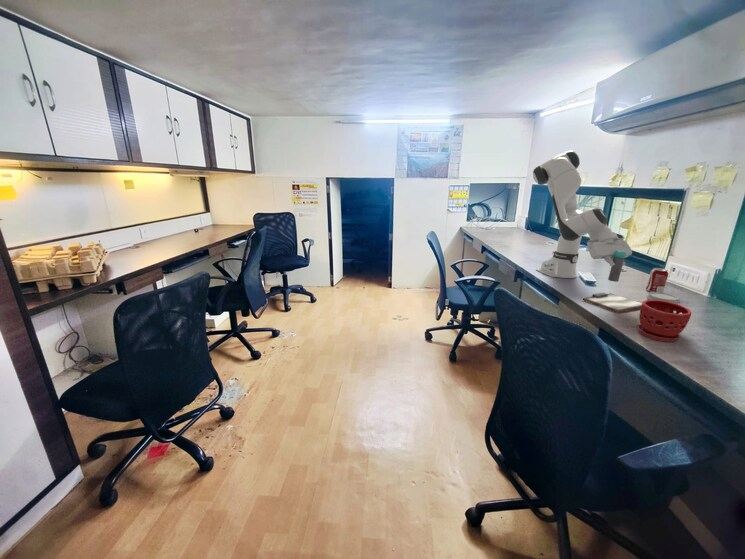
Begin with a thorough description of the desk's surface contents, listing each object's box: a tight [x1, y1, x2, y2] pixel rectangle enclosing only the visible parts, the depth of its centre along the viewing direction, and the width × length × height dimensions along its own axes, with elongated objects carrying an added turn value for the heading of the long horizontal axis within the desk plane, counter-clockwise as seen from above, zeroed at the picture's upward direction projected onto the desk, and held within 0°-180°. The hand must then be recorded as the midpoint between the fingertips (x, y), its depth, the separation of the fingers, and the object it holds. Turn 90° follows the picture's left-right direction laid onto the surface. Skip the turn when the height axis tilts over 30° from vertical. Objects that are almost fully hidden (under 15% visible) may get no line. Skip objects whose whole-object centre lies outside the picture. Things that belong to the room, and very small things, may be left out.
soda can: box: [645, 267, 669, 293], centre depth 158 cm, size 7×7×12 cm
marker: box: [607, 251, 626, 282], centre depth 140 cm, size 4×4×13 cm
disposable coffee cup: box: [646, 292, 680, 312], centre depth 122 cm, size 10×10×12 cm
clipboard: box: [582, 292, 643, 314], centre depth 144 cm, size 16×19×2 cm
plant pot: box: [636, 299, 692, 343], centre depth 112 cm, size 13×13×12 cm
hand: (618, 265), depth 140 cm, fingers closed on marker, 4 cm apart
